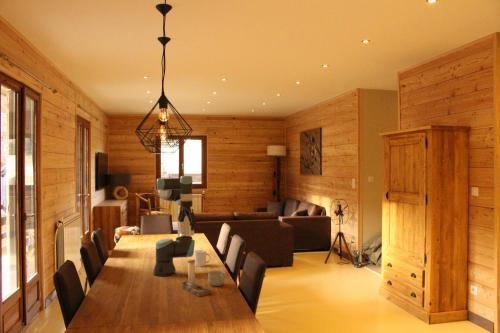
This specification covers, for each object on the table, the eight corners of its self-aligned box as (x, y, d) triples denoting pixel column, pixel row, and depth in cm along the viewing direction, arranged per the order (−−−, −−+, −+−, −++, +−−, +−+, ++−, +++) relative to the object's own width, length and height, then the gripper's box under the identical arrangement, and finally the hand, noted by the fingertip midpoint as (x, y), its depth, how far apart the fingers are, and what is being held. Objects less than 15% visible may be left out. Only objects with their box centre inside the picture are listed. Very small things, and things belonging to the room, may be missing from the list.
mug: (210, 266, 311) (210, 252, 311) (194, 267, 310) (194, 252, 310) (210, 263, 320) (210, 249, 320) (194, 264, 319) (194, 250, 319)
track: (182, 288, 255) (182, 281, 255) (193, 286, 260) (193, 279, 260) (198, 296, 239) (198, 289, 239) (210, 293, 244) (210, 286, 244)
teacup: (206, 283, 266) (206, 270, 266) (222, 281, 269) (222, 269, 269) (212, 289, 252) (211, 276, 252) (229, 287, 256) (229, 274, 256)
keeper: (185, 286, 255) (185, 260, 255) (192, 285, 258) (192, 258, 258) (190, 288, 250) (190, 261, 250) (197, 287, 253) (197, 260, 253)
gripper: (172, 198, 275) (172, 231, 276) (190, 202, 255) (190, 237, 255) (182, 198, 279) (183, 230, 280) (201, 201, 259) (201, 236, 260)
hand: (186, 233), depth 268 cm, fingers open, 13 cm apart
